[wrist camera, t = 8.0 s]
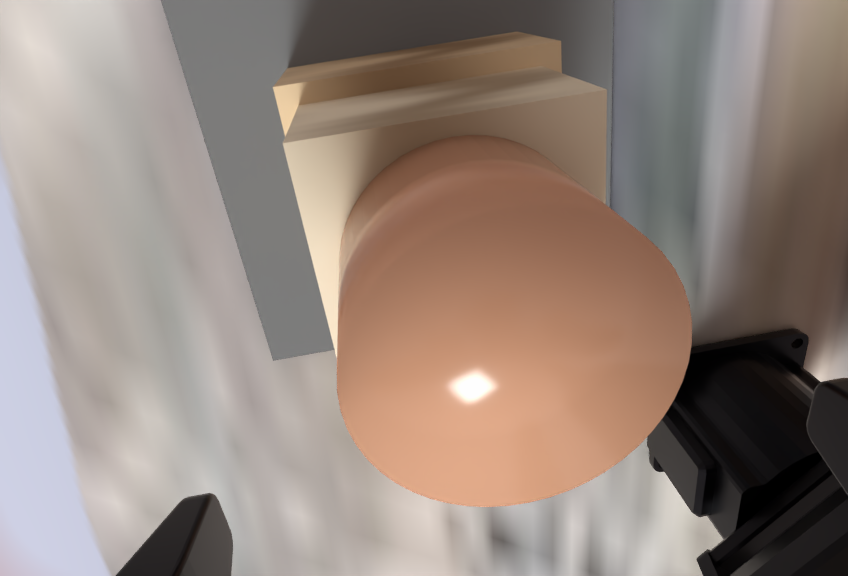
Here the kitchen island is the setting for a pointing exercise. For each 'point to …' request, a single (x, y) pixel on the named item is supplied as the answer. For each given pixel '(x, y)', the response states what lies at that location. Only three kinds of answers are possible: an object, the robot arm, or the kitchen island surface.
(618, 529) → the kitchen island surface
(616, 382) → the peach rounded cylinder
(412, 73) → the base block
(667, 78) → the kitchen island surface
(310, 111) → the top block
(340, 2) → the mat
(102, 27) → the kitchen island surface
